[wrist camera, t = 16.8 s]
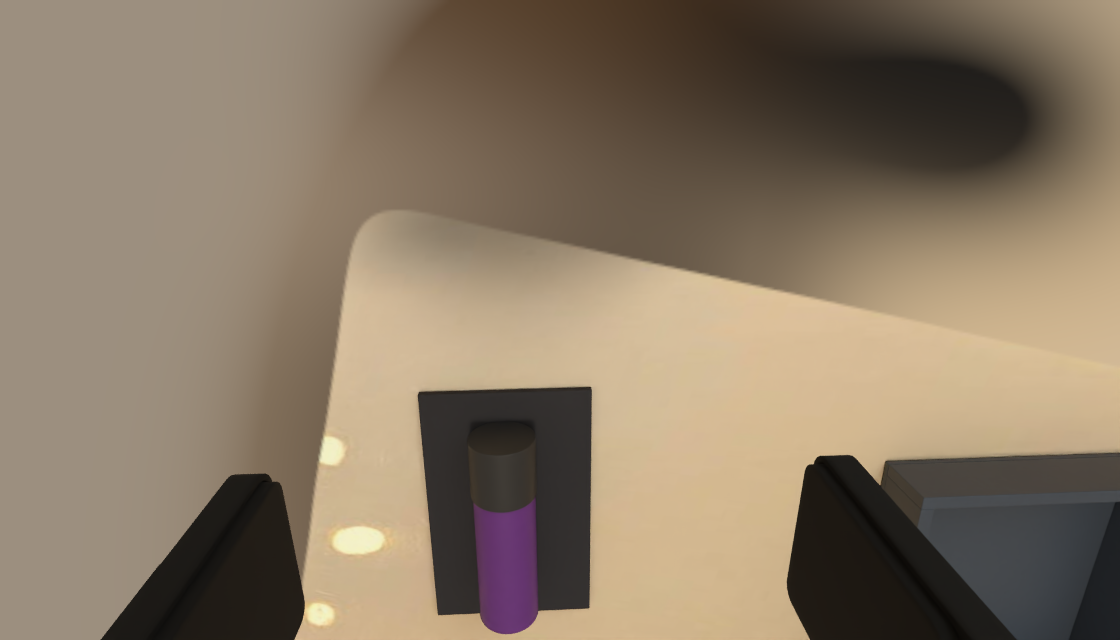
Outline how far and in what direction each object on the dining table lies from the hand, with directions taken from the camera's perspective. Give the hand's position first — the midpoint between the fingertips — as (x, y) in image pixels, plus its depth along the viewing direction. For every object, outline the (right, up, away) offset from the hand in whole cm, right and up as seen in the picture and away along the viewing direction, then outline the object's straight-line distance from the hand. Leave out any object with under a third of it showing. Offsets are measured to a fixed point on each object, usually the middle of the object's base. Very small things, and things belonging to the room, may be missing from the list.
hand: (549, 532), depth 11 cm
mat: (-3, -8, +27) cm, 28 cm away
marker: (-3, -8, +27) cm, 28 cm away
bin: (+29, -13, +30) cm, 44 cm away
